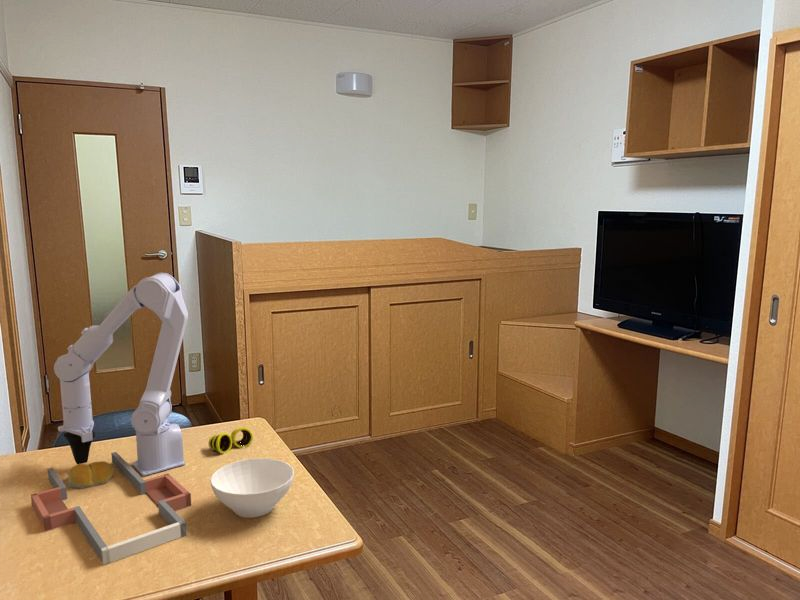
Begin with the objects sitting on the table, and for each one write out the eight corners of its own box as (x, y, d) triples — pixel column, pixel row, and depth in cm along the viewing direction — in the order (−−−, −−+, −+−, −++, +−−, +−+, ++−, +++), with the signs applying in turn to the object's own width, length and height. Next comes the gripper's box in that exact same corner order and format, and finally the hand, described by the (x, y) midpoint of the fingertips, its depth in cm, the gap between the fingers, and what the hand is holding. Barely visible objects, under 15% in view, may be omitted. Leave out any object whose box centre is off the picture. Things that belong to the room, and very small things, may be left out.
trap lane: (139, 456, 142) (138, 446, 142) (212, 525, 112) (212, 513, 111) (21, 486, 127) (20, 475, 126) (70, 577, 96) (68, 562, 96)
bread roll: (116, 482, 129) (115, 465, 129) (69, 493, 124) (67, 475, 124) (110, 468, 136) (109, 452, 135) (66, 478, 131) (64, 460, 131)
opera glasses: (244, 443, 153) (241, 424, 153) (254, 445, 149) (252, 425, 149) (208, 454, 146) (205, 434, 146) (218, 456, 142) (215, 436, 142)
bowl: (241, 539, 107) (240, 503, 106) (196, 509, 118) (194, 475, 117) (311, 507, 119) (310, 474, 118) (264, 482, 130) (263, 451, 129)
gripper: (49, 400, 136) (54, 457, 138) (64, 417, 125) (69, 478, 127) (83, 394, 141) (87, 449, 143) (101, 410, 130) (105, 469, 132)
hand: (81, 462), depth 135 cm, fingers closed
